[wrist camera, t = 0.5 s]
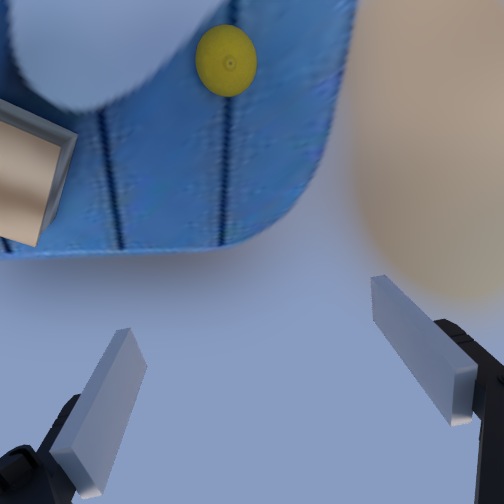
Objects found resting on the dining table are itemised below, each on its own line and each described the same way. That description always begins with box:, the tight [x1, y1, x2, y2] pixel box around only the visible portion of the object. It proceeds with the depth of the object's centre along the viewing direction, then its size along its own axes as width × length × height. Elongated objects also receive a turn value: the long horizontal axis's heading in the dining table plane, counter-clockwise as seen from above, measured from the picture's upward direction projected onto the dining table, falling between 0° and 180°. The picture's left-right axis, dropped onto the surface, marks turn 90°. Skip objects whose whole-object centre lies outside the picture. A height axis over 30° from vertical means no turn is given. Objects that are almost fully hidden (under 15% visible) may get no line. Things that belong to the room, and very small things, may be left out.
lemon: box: [195, 24, 257, 97], centre depth 28 cm, size 6×6×8 cm
